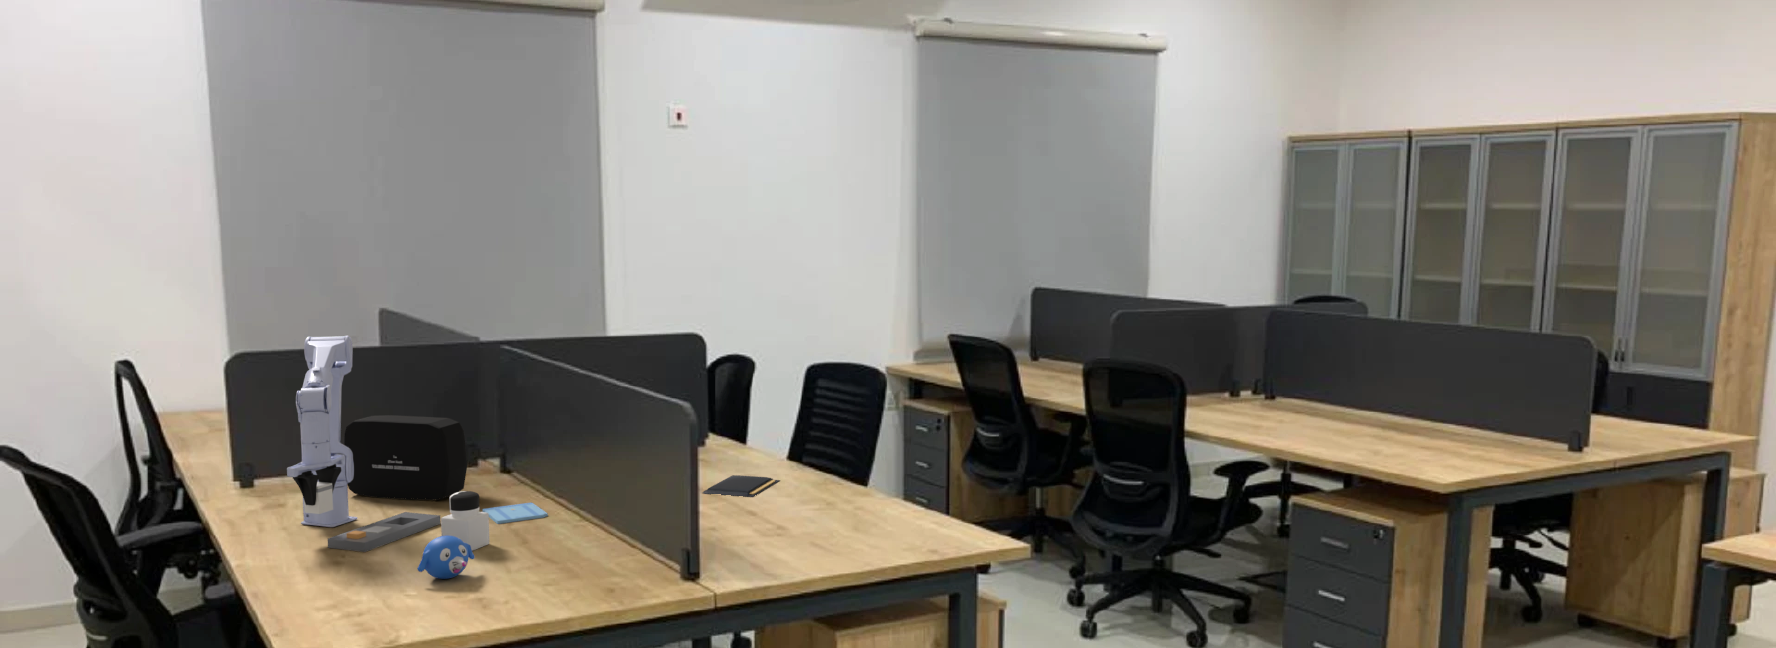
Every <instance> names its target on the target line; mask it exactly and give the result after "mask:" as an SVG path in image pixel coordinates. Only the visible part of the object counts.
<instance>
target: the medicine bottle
mask: <svg viewBox="0 0 1776 648" xmlns="http://www.w3.org/2000/svg"><path fill="white" fill-rule="evenodd" d="M449 513H450V514H447V515H445V516H442V517H440V520H441V524H440V525H441V526H440V529H441V530H440V531H441V536H455V537H457V538H459V539H461V540H462V541H463V542H464V543H467V544H469V545H470V546H471V550H472V552H473V551H476V550H478V549H480V548H482V547H485V546H488V545H489V544H490V520H489V519H490V518H489V514H488V513H487V512H483V511H480V495H479V493H478V492H475V491H471V490H461V491H459V492H457V493H454V494H452V495H451V496H449Z"/></svg>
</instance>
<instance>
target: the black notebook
mask: <svg viewBox="0 0 1776 648" xmlns="http://www.w3.org/2000/svg"><path fill="white" fill-rule="evenodd" d="M780 482H781V480H779V479H774V478H772V477H767V476H755V475H754V476H752V475H742V474H741V475H739V474H736V475H730V476H729V477H727V478H725V479H723V480H721V481H719V482H717V483H715V484H714V485H711V486H710V487H708V488H707V489H705V490H704V491H702V492H701V494H703V495H711V494H721V495H720V496H726V495H731V496H730V497H739V496H743V497H742V498H754V496H755V495H756V496H758V495H760V494H761V493H762V492H764V491H766V490H768V489H769V488H771V487H773V486H775V485H776V484H778V483H780ZM757 494H758V495H757ZM756 496H755V497H756Z"/></svg>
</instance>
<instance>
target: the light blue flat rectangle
mask: <svg viewBox="0 0 1776 648" xmlns="http://www.w3.org/2000/svg"><path fill="white" fill-rule="evenodd" d="M481 510H482V512H487V513H488V514H489V519H490V520H492V521H493V522H494V523H496V524H498V525H500V524H501V525H502V524H507V523H515V522H522V521H529V520H534V519H535V520H537V519H542V518H544V519H545V517H548V513H547V512H546V511H545V510H544V509H542V508H540V507H539V505H536V504H535V503H533V502H525V503H516V504H510V505H509V504H508V505H501V506H494V507H487V508H481Z"/></svg>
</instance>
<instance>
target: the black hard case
mask: <svg viewBox="0 0 1776 648" xmlns="http://www.w3.org/2000/svg"><path fill="white" fill-rule="evenodd" d="M343 439H344V440H343V442H344V444H343V445H345V446H347V447H348V448H350V449H351V451H352V453H353V462H354V477H353V480H352V481H351V482H348V484H347V487H348V489H349V490H350V491H351V492H353V494H355V495H359V496H365V497H371V498H381V499H392V500H393V499H394V500H415V501H417V500H419V501H420V500H421V501H441V500H443V499H445V498H448V497H450V496H451V495H452V494H454V493H457V492H462V491H463V490H464V489H465V483H466V477H467V470H468V465H469V464H468V455H467V449H466V448H467V446H466V437H465V430H464V429H463V426H462V424H461V423H460V421H457V420H454V419H452V418H449V417H435V416H434V417H433V416H413V415H393V414H392V415H391V414H389V415H370V416H367V417H362V418H359V419H355V420H353V421H352V422H350V423H349V424H347V425H346V428H345V431H344V437H343Z"/></svg>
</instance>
